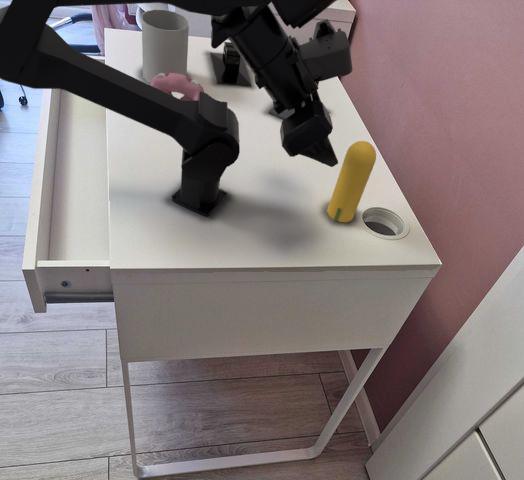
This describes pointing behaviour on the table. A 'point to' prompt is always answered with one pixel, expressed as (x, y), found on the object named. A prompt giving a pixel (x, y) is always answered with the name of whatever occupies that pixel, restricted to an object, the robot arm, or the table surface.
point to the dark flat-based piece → (230, 67)
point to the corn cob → (352, 181)
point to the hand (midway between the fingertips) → (330, 145)
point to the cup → (164, 43)
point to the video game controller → (177, 85)
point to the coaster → (281, 115)
